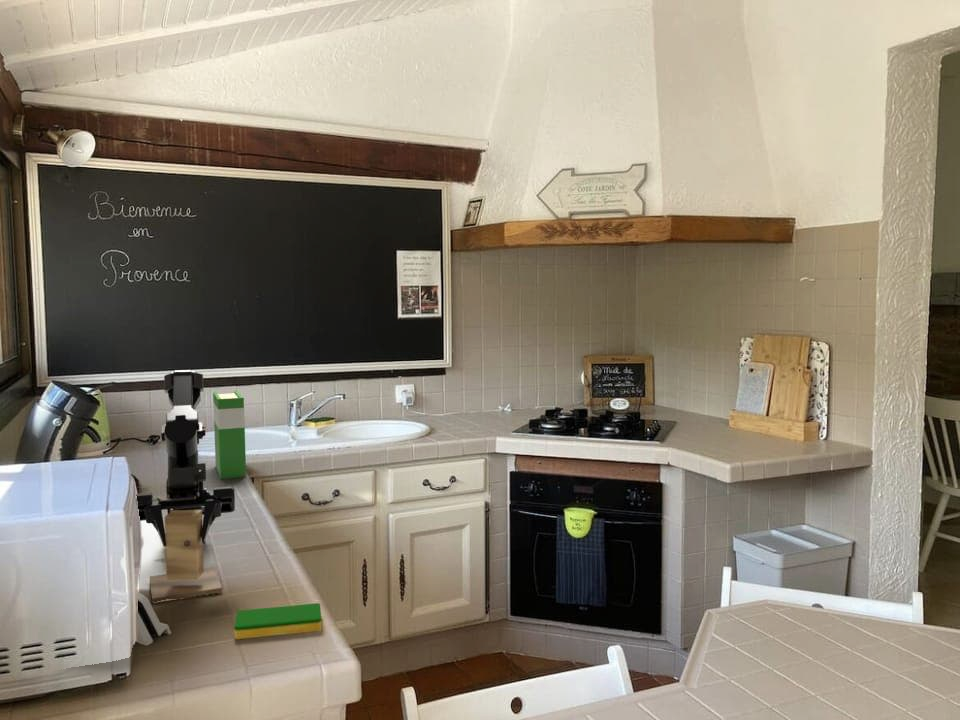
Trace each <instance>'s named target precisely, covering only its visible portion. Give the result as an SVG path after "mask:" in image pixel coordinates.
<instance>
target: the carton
mask: <svg viewBox="0 0 960 720" xmlns="http://www.w3.org/2000/svg"><path fill="white" fill-rule="evenodd" d="M212 397H213V398H212V399H213V420H214V421H213V425H214V426H213V427H214V429H213V430H214V449H215V450H214V454H215V455H214V456H215V457H214V458H215V468H216V471H217V473H218V475H219V478H220V480H223V479H225V480H226V479H235V478H244V477H247V463H246V462H247V461H246V460H247V459H246V457H247V456H246V427H245V401H244V400H245V399H244V396H243V395H242V394H241V393H240V392H239V391H238V390H234V393H233V392H232V393H218V392H217V391H213V392H212Z"/></svg>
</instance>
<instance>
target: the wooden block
mask: <svg viewBox="0 0 960 720" xmlns="http://www.w3.org/2000/svg"><path fill="white" fill-rule="evenodd" d="M171 510H172V511H171V512H170V513H169V514H168V513H167V514H166V515H165V516H164V529H165V538H166V547H165V558H166V574H167V580H192V579H198V578H199V577H200V576H201V574H202V573H203V572H204V569H205V567H204V566H205V565H204V561H205V560H204V543H202V526H203V515H202V510H173V509H171Z"/></svg>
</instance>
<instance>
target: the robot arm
mask: <svg viewBox="0 0 960 720" xmlns="http://www.w3.org/2000/svg"><path fill="white" fill-rule="evenodd" d="M163 376H164V378H163V380H164V381H163V382H164V384H163V385H164V393H165V394H167V395H168V401H169V402H168V403H169V404H170V405H171V407H172V408H171V410H170V411H168V412H167V413H166V414H165V416H166V417H165V423H162V427H161V435H160V437H161V442H165V448H166V453H167V480H166V481H165V482H166V486H165V487H166V489H165V491H166V498H161V499H160V498H159V497H154V496H153V492H149V493H136V496H137V501H138V509H139V516H140V521H139V522H141V521H142V522H143V521H145V522H146V523H147V524H151V525H152V526H153V527H154V529H155V531H156V532H157V533H158V534H157V535H158V536H159V540H160V541H161V544H162V546H163V547H165V548H166V538H165V522H164V519H163V518H164V517H163V510H167V514H169V513H170V512H171V511H172V510H202V543H203V544H205V543H206V540H207V537H208V533H209V531H210V529H211V527H212V525H213V523H214V521H215V520H216V518H219V517H221V516H222V514H226V513H227V514H228V513H234V511H236V508H235V507H236V505H235V504H236V502H235V501H236V499H235V497H236V496H235V488H233V487H232V486H224V487H223V486H220V487H213V488H212V492H213V493H212V494H211V493H210V492H209V490H208V488H207V487H204V482H206V481H207V470H206V469H207V466H206V462H204V463H203V462H201V463H199V450H198V445H199V444H200V440H203V438H204V436H206V426H204V424H203V421H200V420H199V412H198V411H197V410H196V408H197V407H198V406H199V404H200V402H201V400H202V399H201V393H203V392H204V375H203V373H199V372H197V371H195V370H192V369H181V370H180V369H179V370H177V369H175V370H173V371H170V373H167V374H165V375H163Z"/></svg>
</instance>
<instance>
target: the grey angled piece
mask: <svg viewBox="0 0 960 720" xmlns="http://www.w3.org/2000/svg"><path fill="white" fill-rule="evenodd" d="M137 592H138V631H137V632H138V643H137V644H139V645H140V644H141V645H143V646H149V645H151V644H152V643H153V642H154V636H155V637H157V636H159V637H160V636H161V635H162V634H167V635H171V634H172V631H171V630H170V626H169V625H168V624H167V623H164V622H161V621H160V619H159V618H158V616H157V614H156V612H155V610H154V608H153V606H152V604H151V603H150V600H149V598H148V597H147V596H146V595H144V594H142V593H141V592H139V591H137Z"/></svg>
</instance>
